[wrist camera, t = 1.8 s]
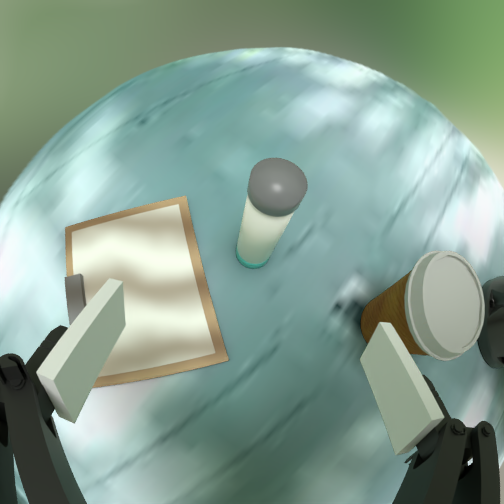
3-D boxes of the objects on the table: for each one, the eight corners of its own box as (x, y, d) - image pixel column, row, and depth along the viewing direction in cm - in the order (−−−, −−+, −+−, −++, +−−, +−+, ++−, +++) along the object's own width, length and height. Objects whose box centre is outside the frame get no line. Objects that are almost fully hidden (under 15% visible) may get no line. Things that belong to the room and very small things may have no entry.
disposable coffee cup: (380, 381, 26) (457, 383, 15) (331, 320, 28) (397, 294, 17) (424, 325, 29) (496, 303, 18) (382, 268, 31) (447, 225, 20)
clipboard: (228, 360, 25) (229, 360, 24) (88, 387, 22) (81, 389, 20) (186, 199, 31) (185, 190, 29) (68, 230, 28) (61, 223, 26)
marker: (275, 264, 30) (316, 199, 18) (240, 273, 29) (260, 210, 17) (264, 232, 31) (295, 155, 19) (230, 240, 30) (243, 161, 18)
